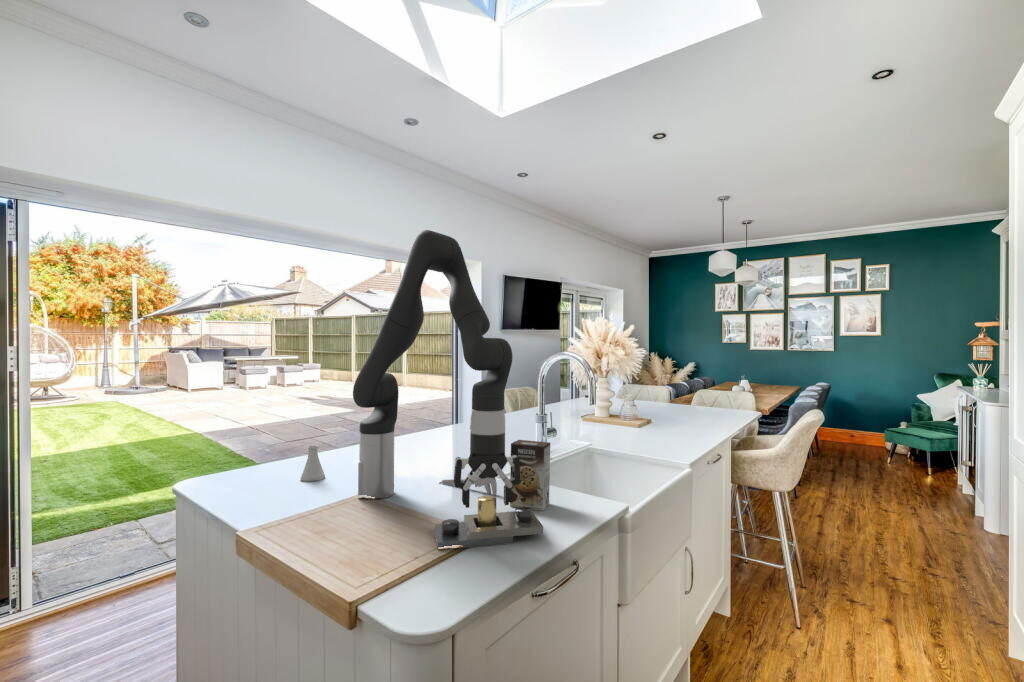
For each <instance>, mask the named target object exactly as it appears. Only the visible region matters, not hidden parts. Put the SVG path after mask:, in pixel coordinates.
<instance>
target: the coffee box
mask: <svg viewBox="0 0 1024 682" xmlns="http://www.w3.org/2000/svg"><path fill="white" fill-rule="evenodd" d="M513 455H516V456H517V457H518V458H519V459H520V480H521V483H520V484H519V485H514V486H513V487H512V500H511V502H509V507H513V508H519V507H528V508H531V509H532V511H533V510H534V511H541V510H543V511H544V510H545V509H546V508H547V507H548V506H549V505H550V488H551V487H550V480H551V479H550V477H551V468H550V467H551V442H549V441H548V442H547V441H538V440H536V441H535V440H528V439H527V440H525V439H517V440H514V441H513V442H512V443H511V444H510V457H511V456H513ZM511 478H513V474H512V467H511V466H510V478H509V479H511ZM548 504H549V505H548ZM547 505H548V506H547ZM546 506H547V507H546ZM545 507H546V508H545Z"/></svg>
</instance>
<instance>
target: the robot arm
mask: <svg viewBox="0 0 1024 682" xmlns="http://www.w3.org/2000/svg"><path fill="white" fill-rule="evenodd" d="M428 271H433V272H438V273H442V274H443V275H444V276H445V277H446V279H447V280H448V283H449V284H450V294H449V300H448V301H449V310H450V313H451V316H452V318H453V320H454V323H455V324H456V326H457V329H458V330H459V334H460V340H461V346H462V347H461V348H462V354H463V359H464V361H465V362H466V364H467V366H469V368H470V369H473V370H474V371H479V372H481V371H483V372H485V371H487V373H486V374H485V375H486V376H485V378H484V379H483V380H480V381H477V382H475V383H474V384H473V386H472V391H471V392H472V393H471V415H470V424H469V430H470V431H469V432H470V435H469V436H470V437H469V440H470V442H469V444H470V447H469V457H468V458H461V457H459V456H457V457H455V459H454V473H453V475H454V476H453V479H454V485H453V486H454V487H455V489H456V488H457V489H461V502H462V505H463V506H464V507H465V508H470V498H471V497H470V496H471V495H470V494H471V493H470V488H471V486H473V485H474V484H473V483H474V482H475V481H476V479H477V478H478V477H479V478H481V479H484V478H488V477H489V478H495V479H496V478H497V477H499V478H500V479H501V480H502V481H503V483H504V485H503V504H504V506H510V502H511V500H512V487H513V486H514V485H519V484H520V483H521V480H520V459H519V458H518V457H517V456H516V455H513V456H511V455H510V456H507V455H506V413H505V391H506V386H507V383H508V379H509V376H510V371H511V368H512V364H513V357H514V355H513V350H512V347H511V345H510V343H509V342H508V341H507V340H506V339H504V338H501V337H498V338H497V337H484V335H485V334H487V333H488V331H489V330H490V327H491V322H490V320H489V318H488V315H487V313H486V311H485V310H484V307H483V305H482V304H481V302H480V299H479V298H478V295H477V293H476V292H475V289H474V286H473V283H472V279H471V276H470V274H469V270H468V267H467V264H466V260H465V258H464V254H463V251H462V248H461V246H460V244H459V242H458V241H457V239H455V238H453V237H452V236H449V235H446V234H443V233H440V232H436V231H433V230H430V229H423V230H421V231H420V232H419V233H418V234H417V235H416V236H415V238H414V240H413V242H412V244H411V247H410V250H409V253H408V255H407V260H406V263H405V266H404V269H403V272H402V276H401V279H400V282H399V284H398V287H397V289H396V292H395V295H394V297H393V300H392V302H391V304H390V306H389V309H388V310H387V313H386V314H385V317H384V319H383V322H382V325H381V327H380V331H379V333H378V335H377V338H376V339H375V342H374V344H373V347H372V349H371V351H370V352H369V355H368V357H367V359H366V360H365V362H364V364H363V366H362V368H361V370H360V371H359V372H358V375H357V377H356V379H355V381H354V385H353V388H352V398H353V402H354V403H355V405H356V406H358V407H360V408H363V409H365V408H367V409H368V408H373V411H372V413H370V414H369V416H367V417H366V418H364V419H362V420H361V421H360V423H359V447H358V449H359V450H358V451H359V454H358V455H359V459H358V464H357V465H358V466H357V469H358V471H357V472H358V474H357V475H358V477H357V480H358V481H357V482H358V483H357V486H358V487H357V488H358V489H357V496H358V495H367V496H371V497H375V498H381V499H384V498H385V499H386V498H389V497H391V496H392V495H394V493H395V425H396V422H397V421H398V420H397V419H398V411H399V410H398V406H399V385H398V380H397V378H396V377H395V375H393V374H392V373H390V372H387V370H388V369H389V368H390V367H391V366H392V364H394V362H396V361H397V360H398V359H399V358H400V357H401V356H403V355H404V354H405V352H407V350H408V349H410V347H411V346H412V345H413V344H414V343H415V342H416V339H417V336H418V335H419V332H420V330H421V329H422V325H423V323H424V319H425V313H424V304H423V300H422V287H423V283H424V280H425V277H426V275H427V272H428ZM507 463H508V464H509V466H510V468H511V467H512V474H513V478H511V479H510V478H508V477H507V475H506V473H504V471H503V469H504V467H506V465H507ZM467 465H468V466H469V467H470V469H471V470H470V471H469V472H468V474H467V476H466V478H464V479H465V480H464V481H461V479H462V471H463V470H464V469H465V468H466V466H467Z"/></svg>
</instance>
